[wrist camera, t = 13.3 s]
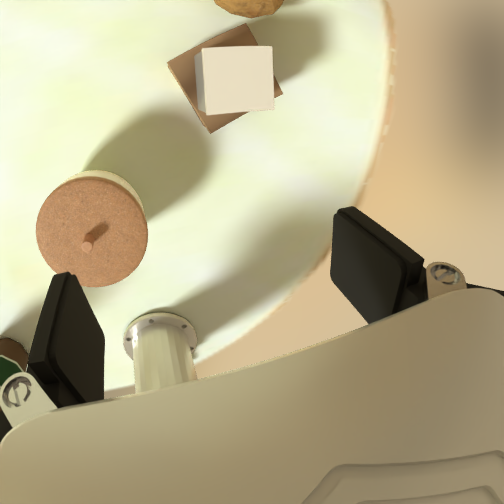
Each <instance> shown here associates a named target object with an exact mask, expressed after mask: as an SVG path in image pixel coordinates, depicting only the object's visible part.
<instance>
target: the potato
mask: <svg viewBox="0 0 504 504" xmlns="http://www.w3.org/2000/svg"><path fill="white" fill-rule="evenodd" d="M283 1H284V0H214V2H215V3H216V4H217V5H218V6H220V7H221V8H223V9H225V10H226V11H228V12H229V13H231V14H235V15H239V16H243V17H248V18H255V17H259V16H264V15H271V14H274V12H275V11H276V10H277V9H278V8H279V7H280V6H281V5H282V4H283Z"/></svg>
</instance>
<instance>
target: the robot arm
mask: <svg viewBox="0 0 504 504" xmlns="http://www.w3.org/2000/svg"><path fill="white" fill-rule="evenodd" d="M423 263H424V259H423V258H422V257H421V256H420V255H419V254H417V253H416V252H415V251H414V250H412V249H411V248H410V247H408V246H407V245H406V244H405V243H403V242H402V241H401V240H399V239H398V238H396V237H395V236H394V235H393V234H391V233H390V232H389V231H387V230H386V229H384V228H383V227H382V226H380V225H379V224H378V223H376V222H375V221H374V220H372V219H371V218H369V217H368V216H367V215H365V214H364V213H362V212H361V211H359V210H358V209H357V208H355V207H353V206H351V207H346V208H341V209H339V210H338V211H337V213H336V214H335V215H334V218H333V238H332V255H331V269H330V276H331V279H332V281H333V283H334V284H335V285H336V286H337V287H338V288H339V290H340V291H341V292H342V293H343V294H344V296H345V297H346V298H347V299H348V300H349V301H350V302H351V304H352V305H353V306H354V307H355V308H356V309H357V311H358V312H359V313H360V314H361V315H362V317H363V318H364V319H365V320H366V321H367V323H368V325H366V326H363V327H361V328H358V329H356V330H353V331H350V332H348V333H345V334H342V335H340V336H337V337H334V338H331V339H329V340H326V341H323V342H320V343H317V344H315V345H311V346H309V347H306V348H303V349H300V350H297V351H294V352H291V353H288V354H285V355H282V356H279V357H275V358H272V359H269V360H266V361H262V362H259V363H256V364H253V365H249V366H246V367H242V368H238V369H235V370H232V371H228V372H224V373H221V374H217V375H213V376H209V377H205V378H201V379H197V375H196V371H195V367H194V363H193V359H192V353H193V352H194V350H195V348H196V345H197V336H196V332H195V329H194V328H193V326H192V325H191V324H190V323H189V322H188V321H187V320H186V319H184V318H183V317H180V316H178V315H175V314H171V313H163V312H160V313H151V314H147V315H144V316H141V317H139V318H137V319H136V320H134V321H133V322H132V323H131V324H130V325H129V326H128V327H127V329H126V331H125V333H124V338H123V345H124V349H125V351H126V353H127V355H128V356H129V357H130V358H131V359H132V360H133V361H134V376H135V389H136V393H135V394H130V395H125V396H120V397H115V398H109V399H104V351H105V337H104V334H103V331H102V329H101V327H100V325H99V323H98V321H97V319H96V317H95V315H94V313H93V311H92V309H91V307H90V305H89V303H88V300H87V298H86V296H85V294H84V292H83V290H82V287H81V285H80V283H79V281H78V278H77V276H76V275H75V274H73V275H71V273H70V272H64V273H60V274H56V275H54V276H53V278H52V281H51V283H50V286H49V289H48V292H47V295H46V298H45V301H44V305H43V308H42V311H41V314H40V318H39V321H38V324H37V328H36V332H35V335H34V339H33V343H32V347H31V351H30V355H29V359H28V363H27V364H28V367H27V371H26V372H19V373H16V374H14V375H12V376H11V377H9V378H8V379H7V380H6V381H5V382H4V384H3V385H2V387H1V389H0V406H1V408H2V410H1V411H0V504H504V291H500V290H495V289H491V288H486V287H482V286H476V285H472V284H468V283H466V282H465V278H464V275H463V273H462V272H461V271H460V270H459V269H458V268H457V267H455V266H453V265H451V264H448V263H444V262H434V263H431V264H429V265H428V266H427V268H426V269H425V268H424V267H423Z"/></svg>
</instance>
